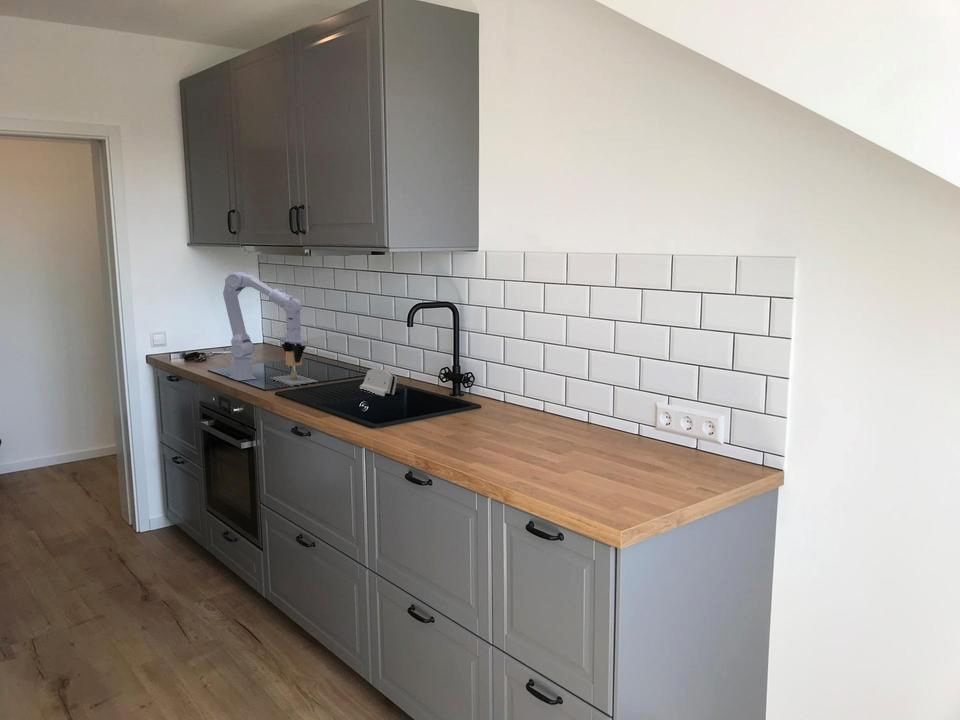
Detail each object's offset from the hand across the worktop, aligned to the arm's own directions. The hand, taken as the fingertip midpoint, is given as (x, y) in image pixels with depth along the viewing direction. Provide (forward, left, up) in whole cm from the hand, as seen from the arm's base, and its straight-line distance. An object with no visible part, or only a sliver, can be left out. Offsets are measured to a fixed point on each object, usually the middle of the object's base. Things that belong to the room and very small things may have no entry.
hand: (293, 361), depth 325 cm
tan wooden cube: (0, 0, -1) cm, 1 cm away
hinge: (+37, +16, -9) cm, 42 cm away
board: (0, 0, -8) cm, 8 cm away
